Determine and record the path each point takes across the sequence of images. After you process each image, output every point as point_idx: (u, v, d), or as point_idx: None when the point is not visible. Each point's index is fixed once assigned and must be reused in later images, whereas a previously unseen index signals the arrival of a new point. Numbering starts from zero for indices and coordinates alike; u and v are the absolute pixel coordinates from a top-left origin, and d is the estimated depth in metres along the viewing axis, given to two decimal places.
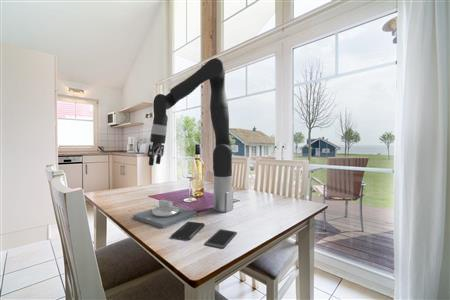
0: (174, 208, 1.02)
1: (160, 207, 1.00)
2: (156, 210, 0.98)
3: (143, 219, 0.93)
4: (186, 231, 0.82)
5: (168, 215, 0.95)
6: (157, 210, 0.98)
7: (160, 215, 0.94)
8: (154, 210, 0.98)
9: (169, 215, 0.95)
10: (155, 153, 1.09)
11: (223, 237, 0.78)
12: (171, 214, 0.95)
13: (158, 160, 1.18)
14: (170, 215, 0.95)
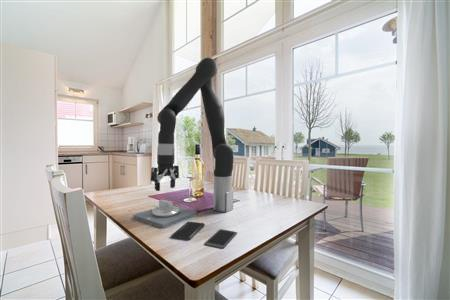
0: (174, 208, 1.02)
1: (160, 207, 1.00)
2: (156, 210, 0.98)
3: (143, 219, 0.93)
4: (186, 231, 0.82)
5: (168, 215, 0.95)
6: (157, 210, 0.98)
7: (160, 215, 0.94)
8: (154, 210, 0.98)
9: (169, 215, 0.95)
10: (160, 176, 0.95)
11: (223, 237, 0.78)
12: (171, 214, 0.95)
13: (172, 183, 1.03)
14: (170, 215, 0.95)
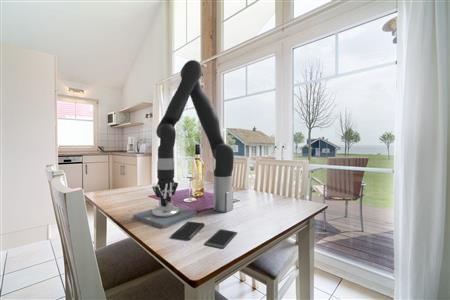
0: (174, 208, 1.02)
1: (160, 207, 1.00)
2: (156, 210, 0.98)
3: (143, 219, 0.93)
4: (186, 231, 0.82)
5: (168, 215, 0.95)
6: (157, 210, 0.98)
7: (160, 215, 0.94)
8: (154, 210, 0.98)
9: (169, 215, 0.95)
10: (160, 191, 0.95)
11: (223, 237, 0.78)
12: (171, 214, 0.95)
13: None
14: (170, 215, 0.95)
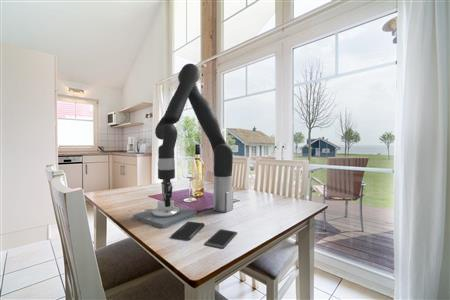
0: None
1: (159, 208, 0.99)
2: (159, 212, 0.96)
3: (143, 219, 0.93)
4: (186, 231, 0.82)
5: (176, 213, 0.97)
6: (160, 212, 0.96)
7: (170, 214, 0.95)
8: (156, 212, 0.96)
9: (177, 213, 0.98)
10: None
11: (223, 237, 0.78)
12: (178, 212, 0.99)
13: None
14: (177, 213, 0.98)
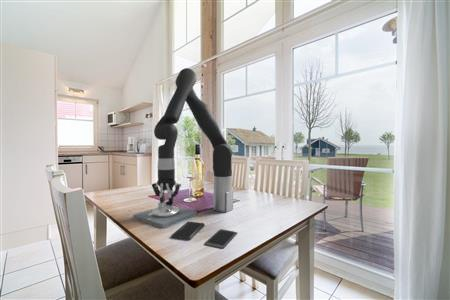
0: None
1: (163, 209, 0.97)
2: (167, 212, 0.96)
3: (143, 219, 0.93)
4: (186, 231, 0.82)
5: None
6: (168, 212, 0.97)
7: (178, 211, 0.99)
8: (166, 213, 0.95)
9: None
10: None
11: (223, 237, 0.78)
12: None
13: None
14: None
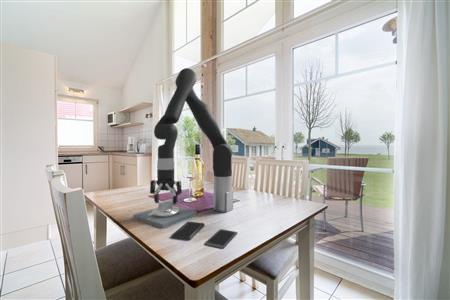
0: None
1: (163, 209, 0.97)
2: (168, 212, 0.96)
3: (143, 219, 0.93)
4: (186, 231, 0.82)
5: None
6: (168, 212, 0.97)
7: (178, 211, 1.00)
8: (166, 213, 0.95)
9: None
10: (175, 189, 1.00)
11: (223, 237, 0.78)
12: None
13: (158, 198, 1.01)
14: None
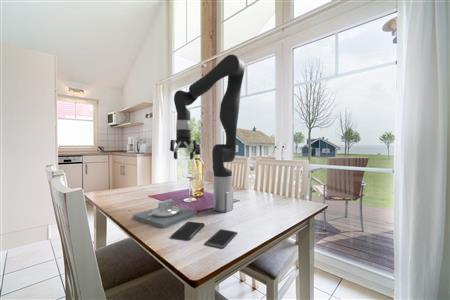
0: None
1: (163, 209, 0.97)
2: (168, 212, 0.96)
3: (143, 219, 0.93)
4: (186, 231, 0.82)
5: None
6: (168, 212, 0.97)
7: (178, 211, 1.00)
8: (166, 213, 0.95)
9: None
10: (191, 147, 1.18)
11: (223, 237, 0.78)
12: None
13: (176, 155, 1.18)
14: None
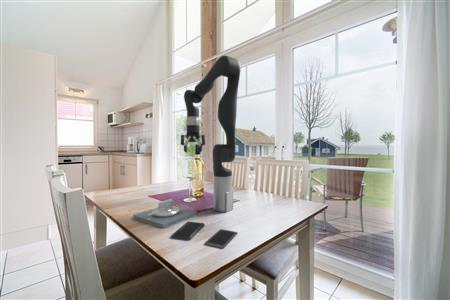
0: None
1: (163, 209, 0.97)
2: (168, 212, 0.96)
3: (143, 219, 0.93)
4: (186, 231, 0.82)
5: None
6: (168, 212, 0.97)
7: (178, 211, 1.00)
8: (166, 213, 0.95)
9: None
10: None
11: (223, 237, 0.78)
12: None
13: (186, 149, 1.29)
14: None
